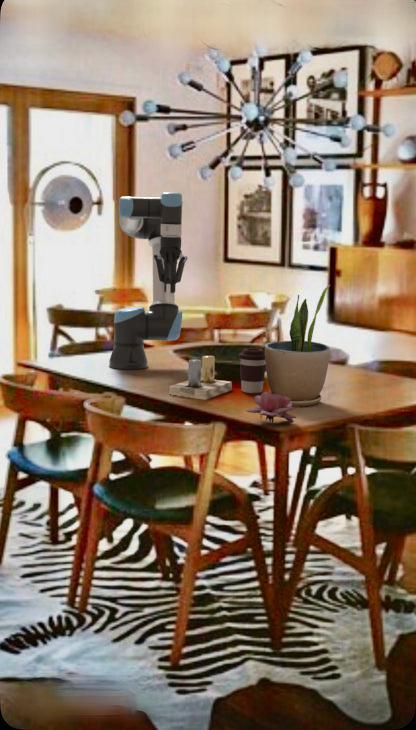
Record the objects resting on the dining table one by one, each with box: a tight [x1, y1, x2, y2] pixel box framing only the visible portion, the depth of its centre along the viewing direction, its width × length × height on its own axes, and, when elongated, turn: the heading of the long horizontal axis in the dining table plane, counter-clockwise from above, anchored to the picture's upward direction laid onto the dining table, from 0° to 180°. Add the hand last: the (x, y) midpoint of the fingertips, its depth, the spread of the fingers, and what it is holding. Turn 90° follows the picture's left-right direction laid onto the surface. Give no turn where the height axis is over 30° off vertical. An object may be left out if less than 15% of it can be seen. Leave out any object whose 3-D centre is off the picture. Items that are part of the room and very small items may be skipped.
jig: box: [168, 377, 233, 401], centre depth 352 cm, size 20×14×3 cm
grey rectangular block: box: [187, 358, 202, 389], centre depth 346 cm, size 4×4×12 cm
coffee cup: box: [238, 347, 266, 394], centre depth 355 cm, size 10×10×15 cm
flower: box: [245, 391, 297, 425], centre depth 307 cm, size 15×15×10 cm
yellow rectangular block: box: [201, 355, 216, 384], centre depth 355 cm, size 4×4×12 cm
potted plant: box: [264, 284, 331, 408], centre depth 336 cm, size 21×22×40 cm
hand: (169, 301), depth 366 cm, fingers closed
